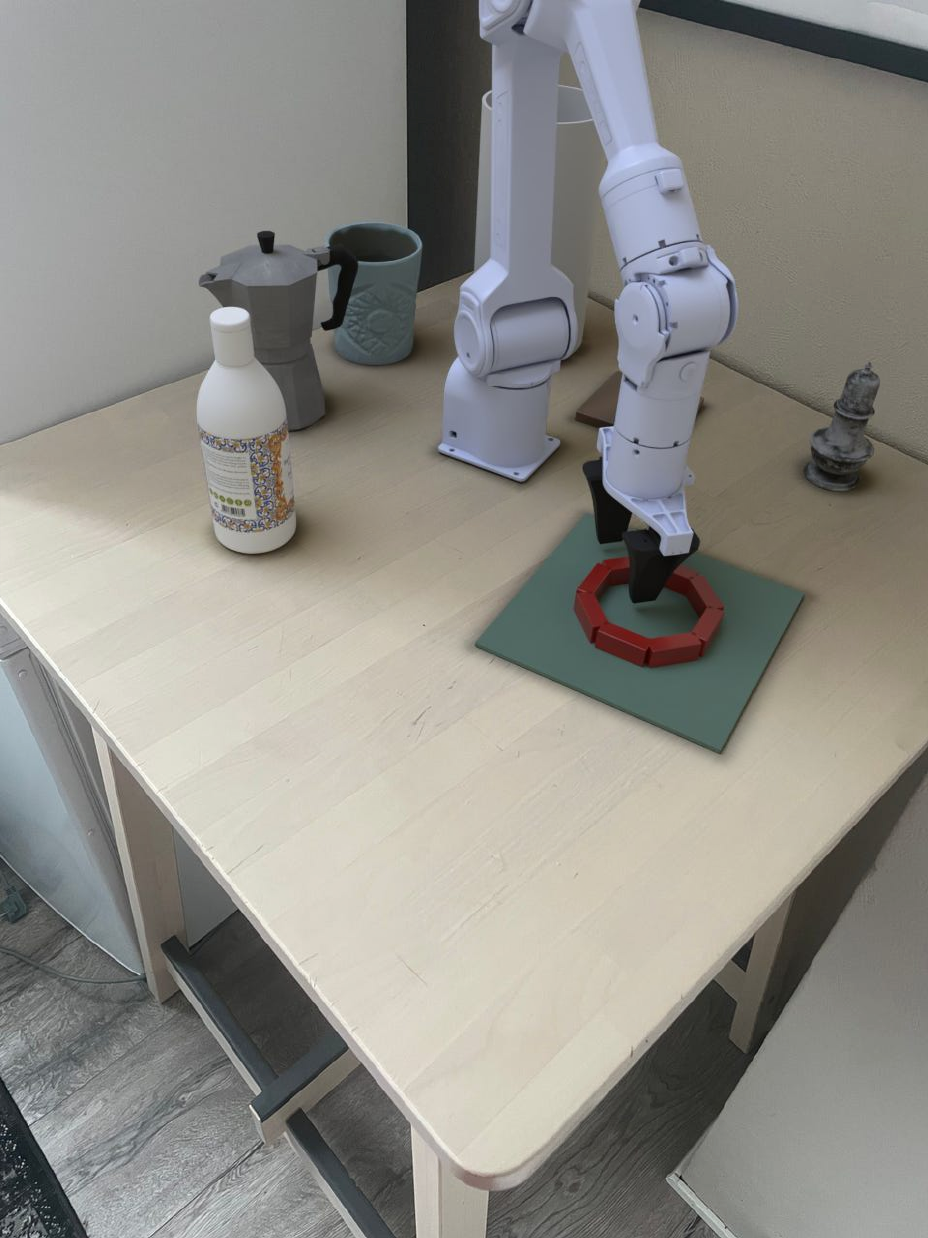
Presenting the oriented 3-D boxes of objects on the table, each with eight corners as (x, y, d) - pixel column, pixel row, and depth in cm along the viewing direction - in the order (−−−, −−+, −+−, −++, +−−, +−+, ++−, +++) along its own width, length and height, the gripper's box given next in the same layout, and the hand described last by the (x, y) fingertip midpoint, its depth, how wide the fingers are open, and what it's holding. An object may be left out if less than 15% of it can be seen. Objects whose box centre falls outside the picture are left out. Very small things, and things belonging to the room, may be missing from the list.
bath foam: (293, 557, 86) (272, 338, 73) (209, 556, 86) (173, 336, 72) (300, 507, 91) (282, 294, 78) (221, 506, 91) (189, 292, 77)
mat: (474, 646, 79) (474, 642, 79) (586, 515, 92) (586, 512, 92) (719, 754, 72) (720, 750, 72) (803, 596, 85) (804, 592, 85)
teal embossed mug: (364, 317, 119) (361, 213, 110) (438, 341, 115) (441, 235, 107) (311, 352, 112) (303, 245, 104) (388, 379, 108) (387, 270, 100)
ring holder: (574, 419, 104) (581, 371, 100) (615, 378, 111) (622, 331, 107) (666, 450, 101) (676, 401, 97) (702, 406, 107) (713, 358, 103)
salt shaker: (865, 497, 96) (908, 383, 88) (801, 488, 97) (837, 373, 89) (860, 463, 100) (900, 351, 92) (799, 454, 101) (833, 342, 93)
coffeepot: (236, 448, 98) (212, 265, 86) (203, 401, 104) (176, 224, 92) (381, 410, 104) (378, 234, 92) (342, 368, 110) (334, 198, 98)
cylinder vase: (495, 306, 122) (510, 76, 105) (595, 329, 119) (627, 95, 102) (453, 351, 113) (461, 109, 97) (559, 378, 110) (588, 131, 93)
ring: (554, 630, 80) (556, 613, 79) (612, 556, 88) (615, 539, 86) (685, 685, 77) (689, 668, 75) (735, 603, 84) (740, 586, 82)
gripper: (746, 477, 71) (706, 620, 80) (665, 373, 81) (638, 511, 91) (651, 488, 70) (622, 633, 79) (581, 381, 80) (563, 520, 89)
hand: (625, 569), depth 85 cm, fingers open, 7 cm apart
